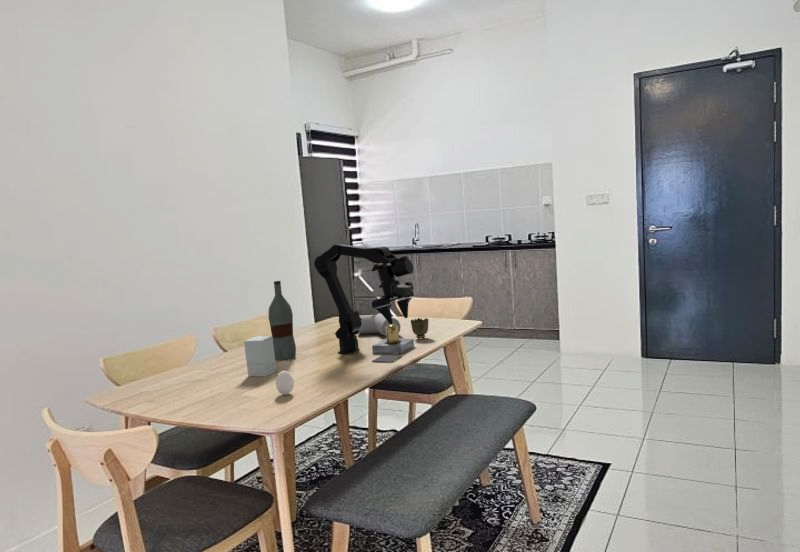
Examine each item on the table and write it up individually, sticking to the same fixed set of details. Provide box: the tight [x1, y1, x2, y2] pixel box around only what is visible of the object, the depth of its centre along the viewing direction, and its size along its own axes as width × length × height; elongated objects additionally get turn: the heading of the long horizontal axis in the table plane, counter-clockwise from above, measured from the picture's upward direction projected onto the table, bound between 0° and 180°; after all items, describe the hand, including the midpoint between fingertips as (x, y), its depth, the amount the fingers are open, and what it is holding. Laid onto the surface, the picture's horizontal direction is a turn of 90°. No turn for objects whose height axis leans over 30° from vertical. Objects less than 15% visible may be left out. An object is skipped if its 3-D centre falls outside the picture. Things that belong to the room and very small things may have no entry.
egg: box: [275, 370, 295, 396], centre depth 173 cm, size 5×5×7 cm
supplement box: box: [243, 335, 277, 377], centre depth 200 cm, size 7×7×13 cm
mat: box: [371, 354, 403, 363], centre depth 206 cm, size 8×8×1 cm
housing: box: [371, 337, 415, 354], centre depth 220 cm, size 12×12×3 cm
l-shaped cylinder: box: [358, 313, 401, 337], centre depth 252 cm, size 18×11×20 cm
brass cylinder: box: [385, 325, 400, 344], centre depth 220 cm, size 5×5×10 cm
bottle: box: [267, 280, 297, 362], centre depth 219 cm, size 9×9×30 cm
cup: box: [410, 317, 429, 339], centre depth 237 cm, size 8×7×8 cm
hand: (399, 320), depth 212 cm, fingers open, 9 cm apart
